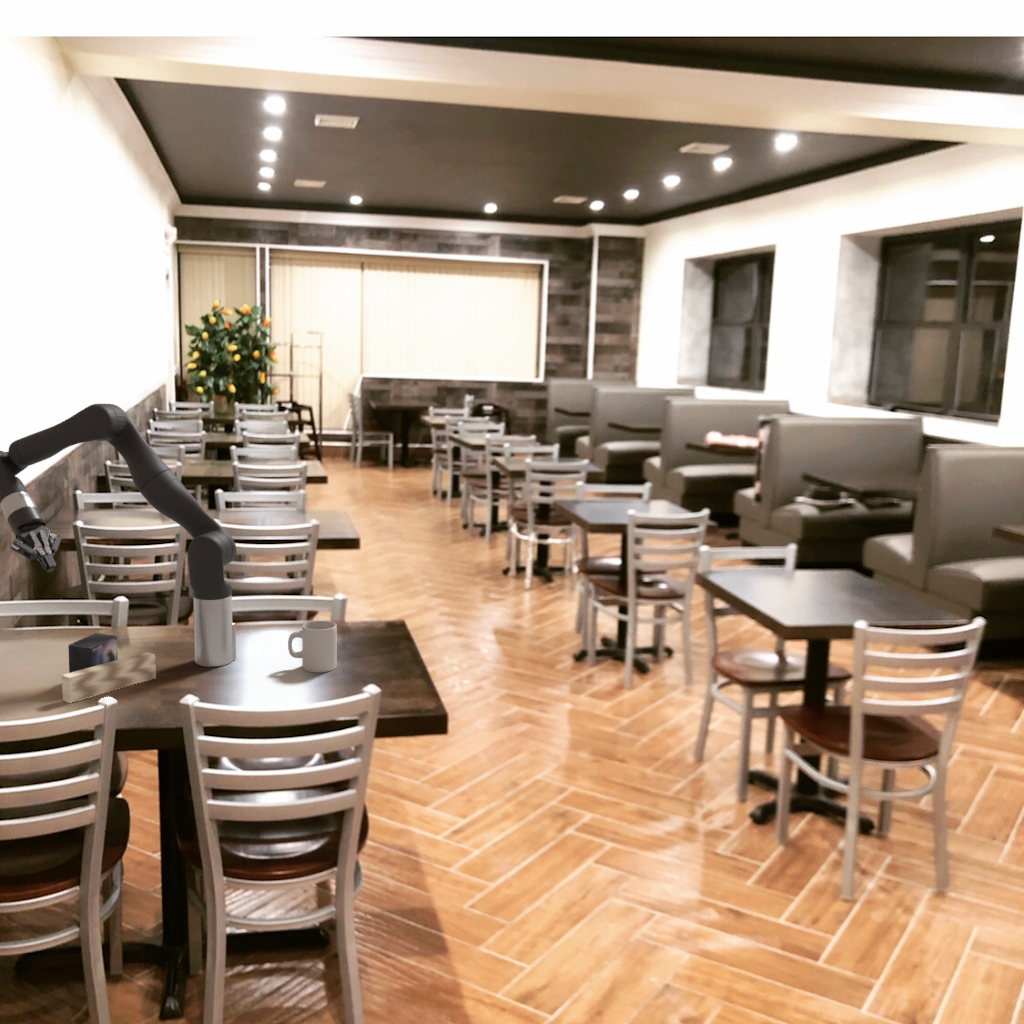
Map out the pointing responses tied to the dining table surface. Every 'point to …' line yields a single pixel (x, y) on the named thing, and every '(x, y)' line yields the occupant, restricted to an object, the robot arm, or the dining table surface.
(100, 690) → the maple board
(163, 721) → the dining table surface
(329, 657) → the mug
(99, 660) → the small box
